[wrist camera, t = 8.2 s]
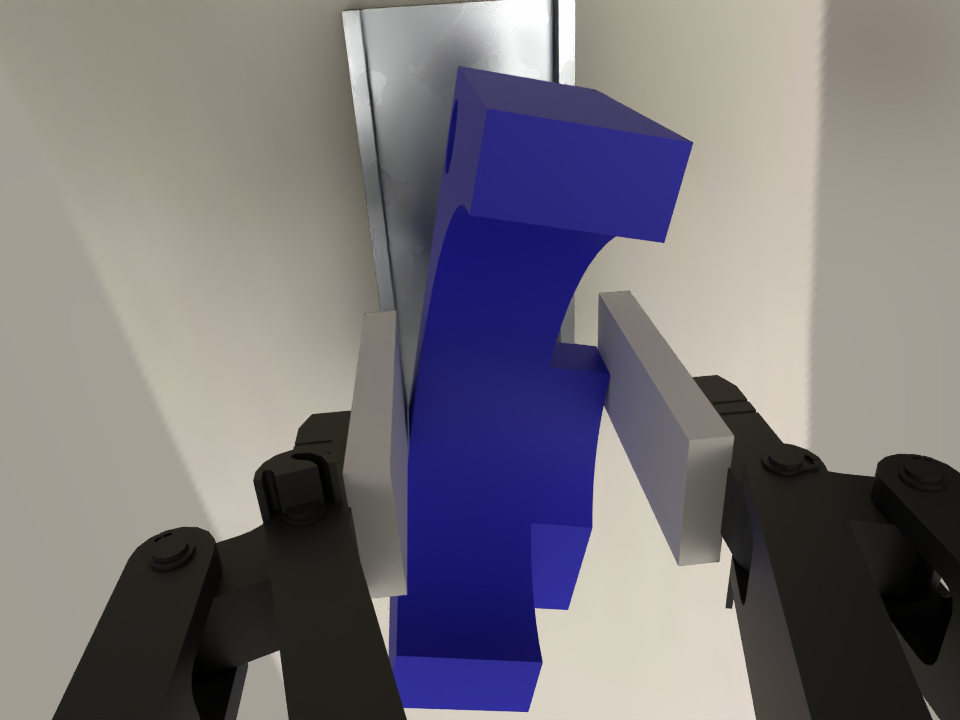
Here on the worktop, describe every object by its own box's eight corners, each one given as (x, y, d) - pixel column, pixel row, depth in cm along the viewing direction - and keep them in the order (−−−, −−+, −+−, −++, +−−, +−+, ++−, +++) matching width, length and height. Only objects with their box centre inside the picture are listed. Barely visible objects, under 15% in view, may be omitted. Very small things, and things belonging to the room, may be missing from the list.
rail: (345, 10, 23) (341, 11, 22) (566, -5, 23) (574, -4, 22) (397, 416, 30) (396, 435, 29) (567, 401, 30) (573, 418, 29)
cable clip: (547, 531, 21) (595, 714, 16) (391, 520, 21) (387, 707, 15) (661, 100, 16) (789, 158, 11) (457, 65, 15) (486, 108, 10)
